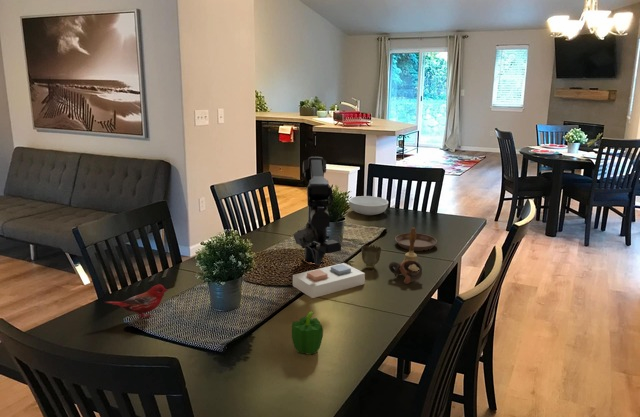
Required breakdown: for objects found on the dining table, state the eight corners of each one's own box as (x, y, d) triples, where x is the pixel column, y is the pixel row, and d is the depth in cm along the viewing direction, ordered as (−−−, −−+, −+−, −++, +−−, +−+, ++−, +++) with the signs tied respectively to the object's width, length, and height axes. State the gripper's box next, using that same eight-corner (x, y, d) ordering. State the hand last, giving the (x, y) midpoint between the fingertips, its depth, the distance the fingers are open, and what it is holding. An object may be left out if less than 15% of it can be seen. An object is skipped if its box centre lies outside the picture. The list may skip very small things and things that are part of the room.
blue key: (330, 274, 179) (330, 266, 179) (341, 272, 182) (342, 264, 181) (339, 279, 176) (339, 271, 175) (350, 276, 178) (350, 268, 178)
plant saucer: (425, 255, 208) (425, 248, 208) (387, 246, 219) (387, 239, 218) (443, 245, 222) (443, 238, 221) (406, 237, 232) (407, 230, 232)
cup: (379, 272, 189) (380, 251, 187) (359, 270, 191) (360, 250, 189) (380, 265, 196) (381, 245, 194) (361, 263, 198) (362, 243, 196)
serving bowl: (346, 217, 263) (346, 204, 261) (350, 207, 283) (351, 195, 281) (386, 219, 259) (387, 206, 258) (388, 209, 279) (389, 197, 278)
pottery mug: (418, 275, 188) (425, 261, 182) (415, 295, 181) (422, 281, 176) (387, 265, 189) (393, 250, 183) (383, 284, 182) (388, 270, 177)
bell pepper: (308, 362, 129) (308, 326, 126) (285, 350, 134) (285, 315, 132) (329, 349, 135) (330, 315, 133) (307, 338, 140) (307, 305, 138)
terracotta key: (306, 280, 174) (307, 272, 173) (318, 277, 177) (319, 269, 176) (315, 285, 170) (315, 277, 169) (327, 282, 173) (327, 274, 172)
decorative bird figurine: (169, 316, 151) (167, 285, 149) (105, 323, 146) (102, 291, 144) (169, 312, 154) (167, 281, 151) (106, 319, 149) (103, 287, 146)
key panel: (292, 285, 175) (292, 274, 174) (343, 273, 188) (343, 262, 187) (312, 298, 166) (312, 286, 165) (364, 284, 178) (364, 273, 177)
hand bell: (423, 266, 196) (426, 226, 192) (417, 273, 189) (421, 232, 185) (402, 262, 200) (405, 223, 196) (396, 269, 192) (398, 228, 188)
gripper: (282, 217, 171) (282, 261, 175) (314, 231, 156) (313, 278, 160) (310, 212, 177) (309, 255, 181) (343, 225, 162) (341, 271, 166)
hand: (317, 264), depth 172 cm, fingers closed
